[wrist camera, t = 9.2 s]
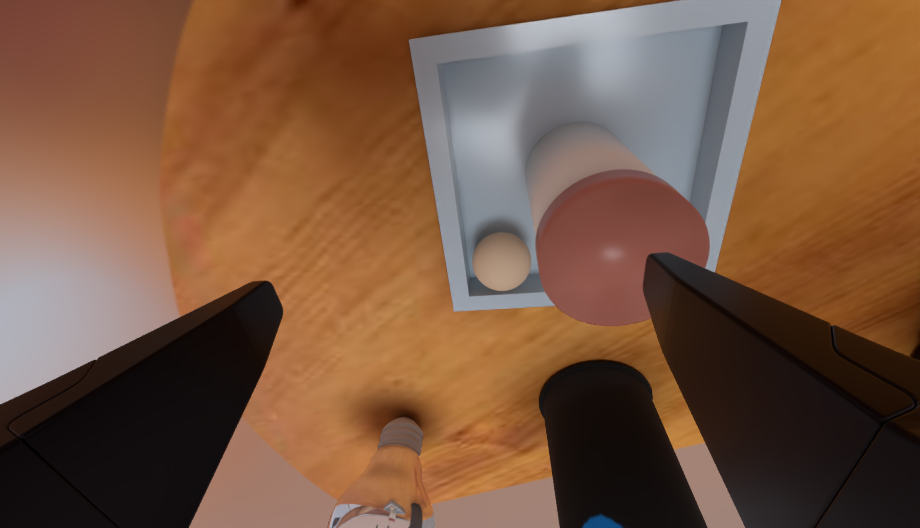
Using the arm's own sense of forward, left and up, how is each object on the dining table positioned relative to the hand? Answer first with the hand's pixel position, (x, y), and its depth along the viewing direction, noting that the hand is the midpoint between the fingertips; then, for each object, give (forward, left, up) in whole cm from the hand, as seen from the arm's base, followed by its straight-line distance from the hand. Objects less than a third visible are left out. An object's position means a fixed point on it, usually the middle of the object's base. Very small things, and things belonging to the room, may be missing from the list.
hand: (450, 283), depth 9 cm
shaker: (-5, +2, -12) cm, 14 cm away
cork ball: (-1, +6, -12) cm, 14 cm away
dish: (-5, +2, -13) cm, 14 cm away
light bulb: (+8, +22, -13) cm, 27 cm away
